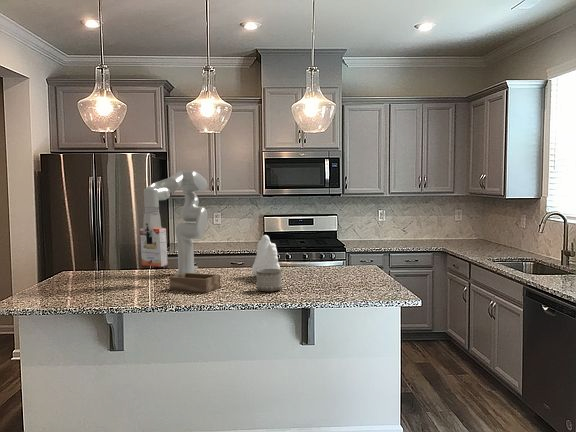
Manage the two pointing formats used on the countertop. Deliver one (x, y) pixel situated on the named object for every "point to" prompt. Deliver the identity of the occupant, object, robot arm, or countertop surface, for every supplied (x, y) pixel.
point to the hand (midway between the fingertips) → (153, 242)
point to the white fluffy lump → (265, 255)
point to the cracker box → (154, 248)
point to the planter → (268, 279)
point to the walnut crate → (195, 282)
